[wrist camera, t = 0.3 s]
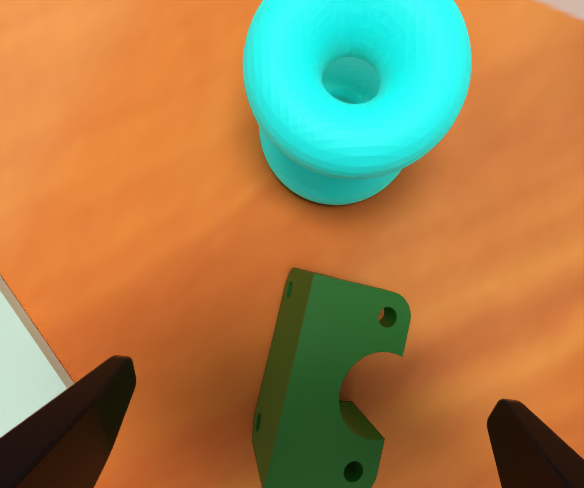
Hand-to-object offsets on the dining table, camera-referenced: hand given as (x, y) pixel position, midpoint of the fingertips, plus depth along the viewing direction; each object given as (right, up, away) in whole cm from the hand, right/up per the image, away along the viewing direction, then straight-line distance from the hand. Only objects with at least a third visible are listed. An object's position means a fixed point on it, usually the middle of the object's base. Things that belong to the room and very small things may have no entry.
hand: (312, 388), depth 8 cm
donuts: (+2, +11, +16) cm, 19 cm away
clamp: (+2, -4, +15) cm, 16 cm away
